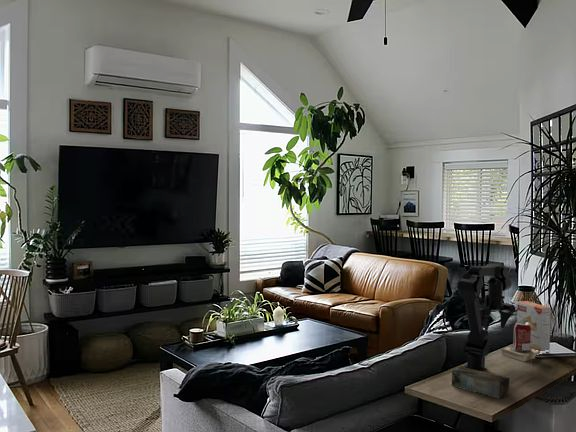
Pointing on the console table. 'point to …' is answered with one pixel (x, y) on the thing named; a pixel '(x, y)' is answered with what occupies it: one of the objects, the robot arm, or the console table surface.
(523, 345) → the soda can
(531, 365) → the console table surface
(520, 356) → the beige square dish
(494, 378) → the grey rectangular block
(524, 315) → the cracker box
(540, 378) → the console table surface
